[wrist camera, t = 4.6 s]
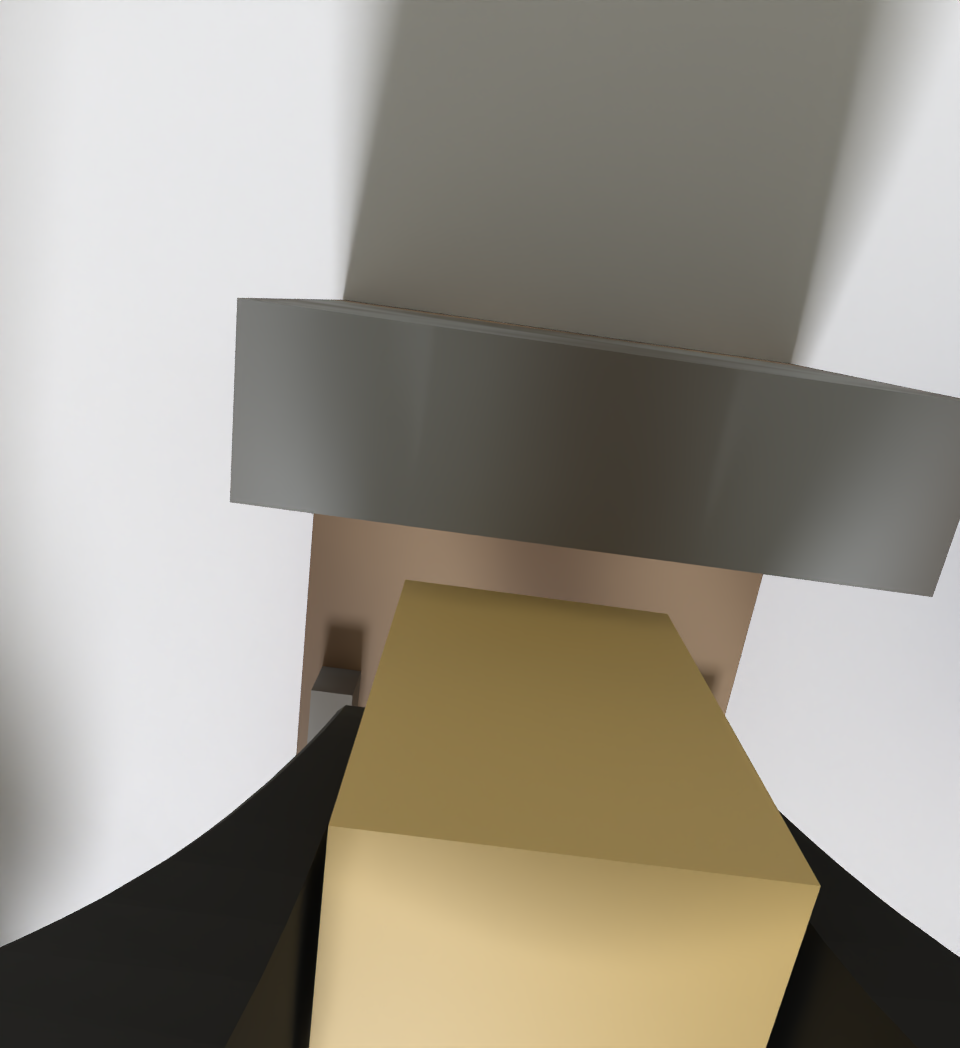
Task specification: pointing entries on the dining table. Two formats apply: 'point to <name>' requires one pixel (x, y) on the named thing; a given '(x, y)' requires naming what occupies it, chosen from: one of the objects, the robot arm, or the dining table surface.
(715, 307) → the dining table surface
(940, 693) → the dining table surface
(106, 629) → the dining table surface
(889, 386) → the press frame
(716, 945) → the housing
